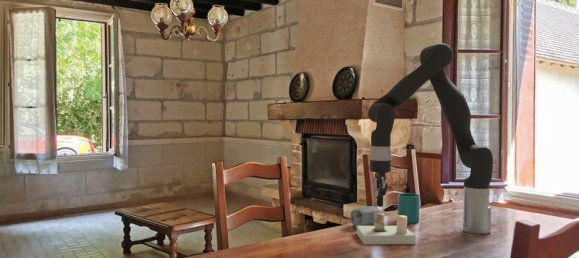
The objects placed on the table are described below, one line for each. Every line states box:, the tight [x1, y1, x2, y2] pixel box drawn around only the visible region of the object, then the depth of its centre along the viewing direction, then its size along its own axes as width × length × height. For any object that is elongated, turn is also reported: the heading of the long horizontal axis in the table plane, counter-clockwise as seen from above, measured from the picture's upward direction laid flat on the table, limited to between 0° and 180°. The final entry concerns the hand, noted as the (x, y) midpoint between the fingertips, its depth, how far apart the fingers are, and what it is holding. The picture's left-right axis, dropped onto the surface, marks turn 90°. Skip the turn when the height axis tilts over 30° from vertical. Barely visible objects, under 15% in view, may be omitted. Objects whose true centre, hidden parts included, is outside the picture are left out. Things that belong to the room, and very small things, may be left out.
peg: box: [374, 212, 386, 232], centre depth 168 cm, size 4×4×9 cm
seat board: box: [356, 214, 416, 245], centre depth 168 cm, size 18×14×9 cm
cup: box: [397, 192, 421, 224], centre depth 197 cm, size 9×12×11 cm
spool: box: [350, 205, 382, 229], centre depth 186 cm, size 14×10×10 cm
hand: (379, 206), depth 168 cm, fingers closed
